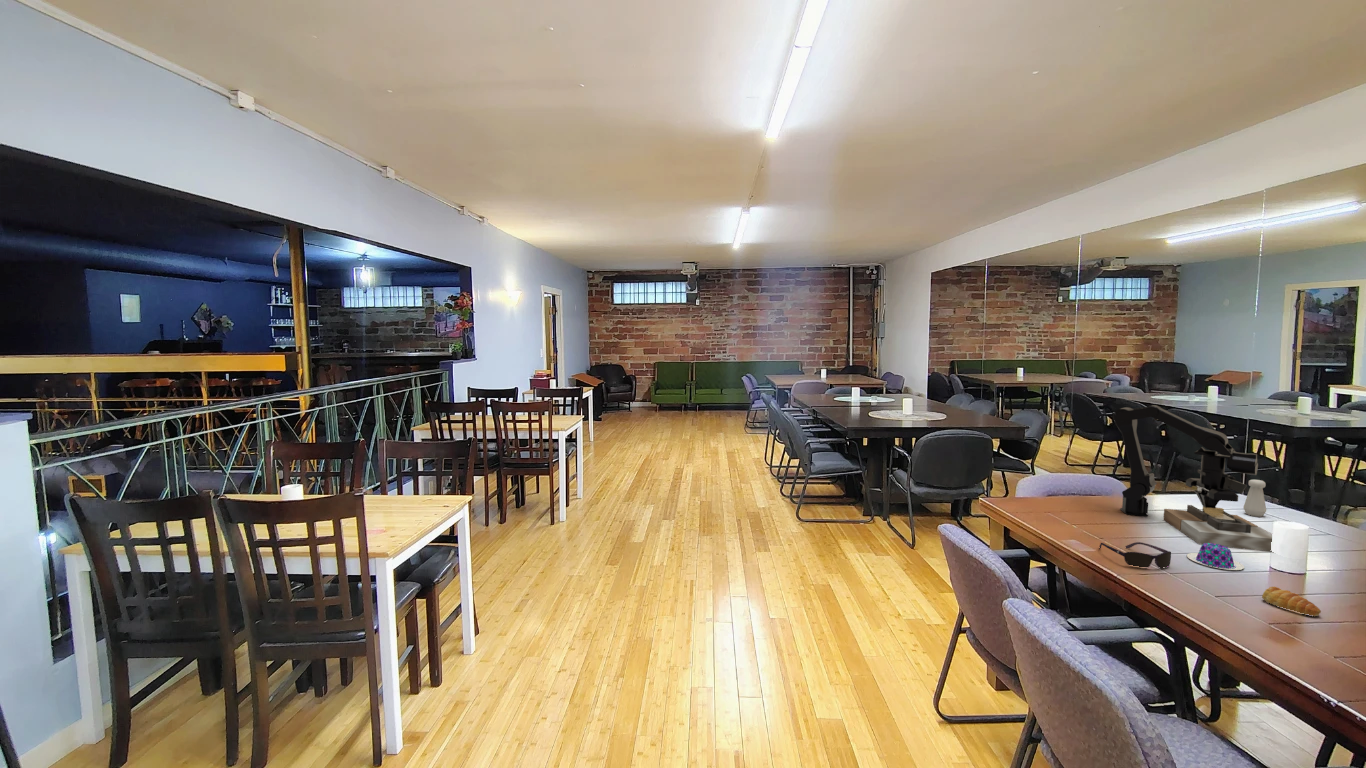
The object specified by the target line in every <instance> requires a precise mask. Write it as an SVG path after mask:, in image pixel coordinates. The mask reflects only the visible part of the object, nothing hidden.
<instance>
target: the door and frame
mask: <svg viewBox="0 0 1366 768" xmlns="http://www.w3.org/2000/svg"><path fill="white" fill-rule="evenodd" d="M1215 508H1218V507H1217V506H1216V507H1215ZM1223 514H1225V515H1227V516H1228V517H1230V518H1232V519H1234V520H1235V523H1229V522H1221V521H1219V520H1217V519H1216V518H1214V517H1211V516H1208V519H1207V514H1206V513H1205V512H1203V511H1202V509H1200V508H1198V507H1195V506H1194V505H1192V504H1187V508H1186V510H1183V509H1182V510H1181V509H1170V508H1164V511H1163V521H1165V522H1167V523H1168V524H1169V525H1171V526H1172V527H1173V528H1175V529H1176V530H1178V531H1180V532H1181V533H1183V534H1184V535H1185V536H1187V537H1189V538H1190V539H1191V540H1192V541H1194V542H1196V543H1197V544H1199V545H1202V544H1204V543H1213V544H1219V545H1222V546H1226V547H1227V548H1233V547H1234V548H1233V549H1235V548H1237V549H1243V548H1245V550H1246V549H1247V550H1252V551H1253V550H1256V551H1261V552H1262V551H1265V552H1271V551H1270V550H1271V542H1272V534H1273V533H1272V532H1270V531H1268V530H1267V529H1265V528H1262V527H1261V526H1258V525H1257V524H1255V523H1253V522H1250V521H1249V520H1247V519H1245V518H1244V517H1242V516H1239V515H1238V514H1230V513H1228V512H1226V511H1225V510H1224V513H1223Z"/></svg>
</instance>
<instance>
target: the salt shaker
mask: <svg viewBox="0 0 1366 768" xmlns="http://www.w3.org/2000/svg"><path fill="white" fill-rule="evenodd" d="M1266 485H1267V484H1266V482H1265V481H1264V480H1262V479H1261V480H1260V479H1250V480H1248V485H1247V486H1249V489H1248V492H1247V496H1246V498H1245V502H1244V503H1243V510H1244V513H1245V514H1246V515H1247V514H1248V516H1250V515H1251V516H1252V517H1257V518H1261V517H1264V515H1265V514H1266V513H1267V507H1266V501H1265V494H1264V490H1263V489H1264V488H1266ZM1251 516H1250V517H1251Z"/></svg>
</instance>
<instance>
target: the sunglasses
mask: <svg viewBox="0 0 1366 768" xmlns="http://www.w3.org/2000/svg"><path fill="white" fill-rule="evenodd" d="M1136 545H1143V546H1147V547H1149V548H1152V549H1155V550H1156V551H1159V552H1161V553H1159V554H1153V555H1152V554H1148V553H1145V552H1137V551H1126V552H1124V551H1121V550H1118V549H1117V548H1115V547H1112V546H1110V545H1107V544H1106V543H1105V542H1100V543H1099V546H1098V548H1099V547H1100V548H1101V549H1102V546H1103V547H1105V548H1107V549H1109V550H1110V551H1113V552H1114V553H1117V554H1118V555H1120V556H1122V557H1123V558H1124V562H1125V564H1127V565H1128V566H1129V565H1133V566H1139V567H1148V568H1149V567H1150V566H1151V564H1152V563H1153V560H1154V564H1155V565H1156V566H1157V568H1159V567H1160V569H1161V568H1163V567H1167V566H1169V567H1170V565H1171V561H1172V560H1171V558H1172V552H1171V551H1169V550H1166V549H1163V548H1161V547H1159V546H1156V545H1152V544H1149V543H1145V542H1141V541H1137V542H1136V541H1135V542H1133V543H1129V544H1127V545H1125V546H1124V548H1125V547H1126V548H1125V549H1127V548H1129V549H1131V548H1132V547H1134V546H1136ZM1100 548H1099V549H1100Z"/></svg>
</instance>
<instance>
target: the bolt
mask: <svg viewBox="0 0 1366 768" xmlns="http://www.w3.org/2000/svg"><path fill="white" fill-rule="evenodd" d="M1201 511H1203V512H1205V513H1206V514H1207V519H1208V516H1211V517H1214V518H1216V519H1217V520H1219V521H1221V522H1229V523H1235V520H1234V519H1232V518H1230V517H1228V516H1227V515H1225V514H1223V513H1224V511H1225V508H1223V507H1217V508H1215V507H1203V506H1202V509H1201Z"/></svg>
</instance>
